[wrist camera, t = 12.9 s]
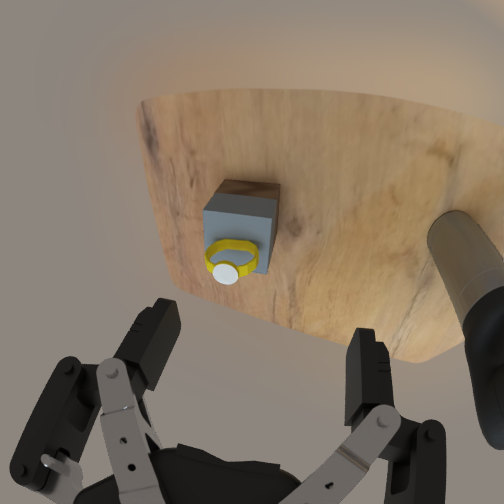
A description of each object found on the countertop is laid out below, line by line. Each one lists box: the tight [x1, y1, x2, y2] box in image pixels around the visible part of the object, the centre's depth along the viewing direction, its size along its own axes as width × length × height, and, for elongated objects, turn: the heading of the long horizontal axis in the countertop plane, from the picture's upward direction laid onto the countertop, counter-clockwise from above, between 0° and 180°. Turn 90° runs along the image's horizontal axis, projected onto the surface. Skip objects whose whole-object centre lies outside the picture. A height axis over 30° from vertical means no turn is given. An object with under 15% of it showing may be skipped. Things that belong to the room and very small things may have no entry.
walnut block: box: [214, 180, 280, 251], centre depth 41 cm, size 8×8×5 cm
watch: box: [204, 239, 259, 284], centre depth 33 cm, size 6×3×6 cm, turn 91°
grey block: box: [203, 193, 277, 274], centre depth 37 cm, size 8×8×5 cm
